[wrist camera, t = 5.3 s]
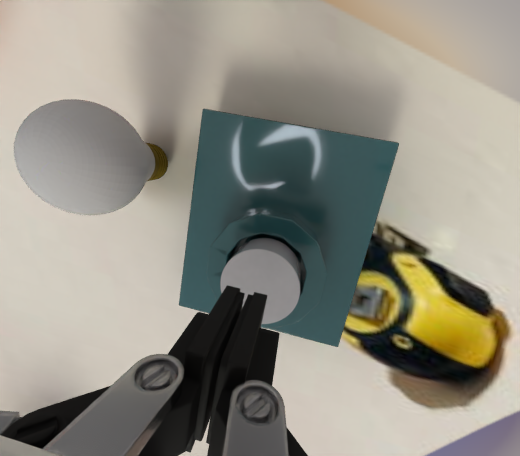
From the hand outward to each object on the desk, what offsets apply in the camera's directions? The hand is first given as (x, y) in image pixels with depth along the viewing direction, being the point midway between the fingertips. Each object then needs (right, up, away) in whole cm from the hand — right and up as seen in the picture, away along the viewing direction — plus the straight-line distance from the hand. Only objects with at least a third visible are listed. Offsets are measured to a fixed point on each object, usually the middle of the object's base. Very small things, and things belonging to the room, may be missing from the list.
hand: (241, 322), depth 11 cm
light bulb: (-7, +9, +11) cm, 16 cm away
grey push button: (+1, +1, +6) cm, 6 cm away
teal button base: (+2, +4, +10) cm, 11 cm away
